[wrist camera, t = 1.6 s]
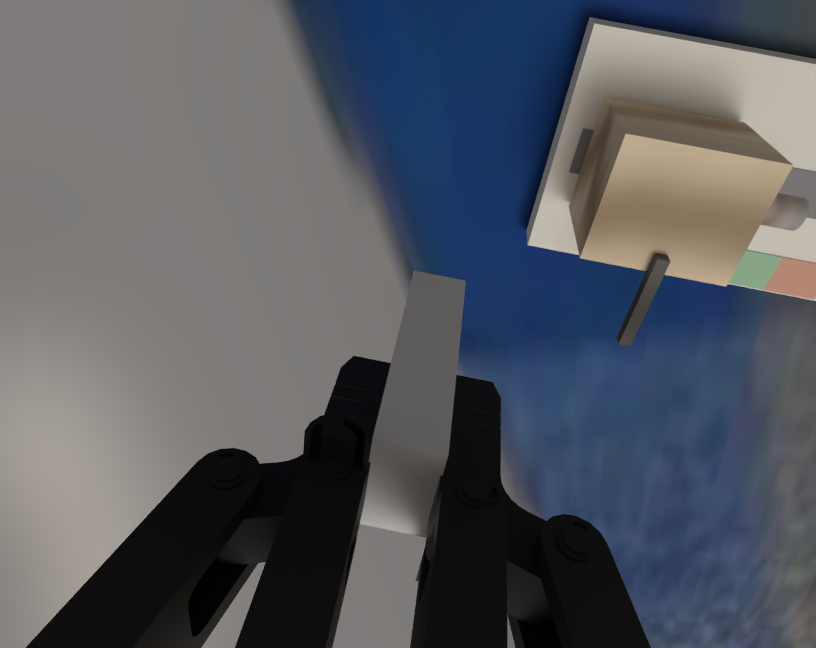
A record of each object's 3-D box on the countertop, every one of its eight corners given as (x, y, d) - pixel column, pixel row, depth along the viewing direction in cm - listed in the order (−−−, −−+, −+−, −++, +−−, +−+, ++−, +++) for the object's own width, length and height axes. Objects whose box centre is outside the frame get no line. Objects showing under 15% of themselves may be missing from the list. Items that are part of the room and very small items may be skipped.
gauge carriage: (605, 96, 29) (628, 137, 24) (805, 133, 29) (873, 184, 24) (548, 267, 35) (556, 331, 30) (713, 299, 35) (752, 370, 29)
